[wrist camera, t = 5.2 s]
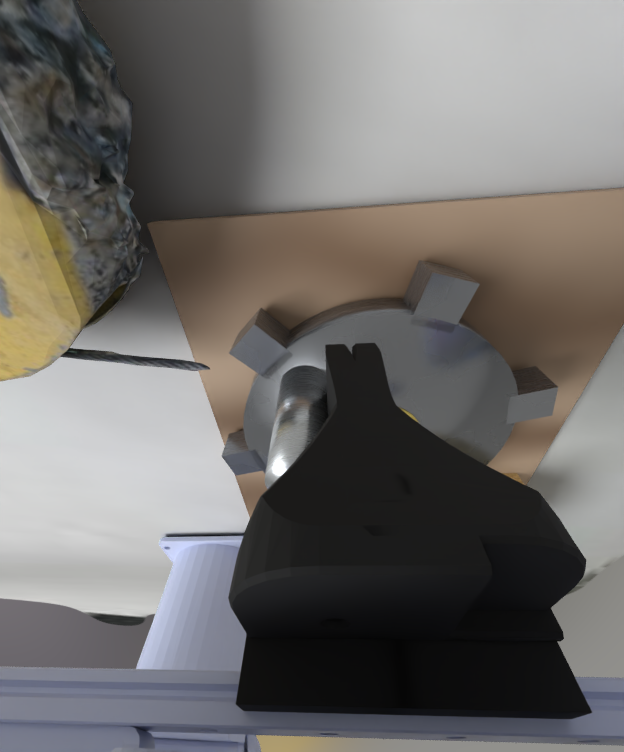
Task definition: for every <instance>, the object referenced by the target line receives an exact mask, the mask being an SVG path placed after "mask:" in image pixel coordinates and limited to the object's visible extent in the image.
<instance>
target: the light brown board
mask: <svg viewBox="0 0 624 752" xmlns="http://www.w3.org/2000/svg"><path fill="white" fill-rule="evenodd" d="M147 226H148V228H149V231H150V234H151V237H152V240H153V243H154V245H155V248H156V251H157V254H158V257H159V260H160V263H161V265H162V268H163V271H164V274H165V277H166V280H167V283H168V285H169V288H170V291H171V294H172V297H173V300H174V303H175V305H176V308H177V311H178V314H179V317H180V320H181V322H182V325H183V328H184V331H185V334H186V337H187V340H188V342H189V345H190V348H191V351H192V354H193V357H194V360H195V362H197V363H202V364H204V365H206V366H208V367H209V368H210V370H198V371H199V374H200V377H201V379H202V382H203V385H204V388H205V391H206V394H207V397H208V399H209V402H210V405H211V408H212V411H213V414H214V417H215V419H216V422H217V425H218V428H219V431H220V434H221V437H222V439H223V442H224V445H226V441H227V438H228V435H229V433H233V432H238V431H242V430H244V429H243V421H244V411H245V407H246V402H247V398H248V395H249V392H250V388H251V385H252V382H253V379H254V376H255V374H256V372H255V371H254V370H252V369H251V368H249V367H248V366H246V365H245V364H244V363H242V362H241V361H239V360H238V359H236V358H235V357H233V356H232V355H231V354H229V352H230V350H231V348H232V345H233V343H234V341H235V339H236V337H237V335H238V333H239V332H240V331H241V330H242V329H243V328H244V326H245V325H246V324H247V323H248V322H249V321H250V319H251V318H252V317H253V316H254V315H255V314H256V313H257V311H258V310H259V309H260V308H262V309H264V310H265V311H266V312H267V313H269V314H270V315H271V316H272V317H274V318H275V319H276V320H277V321H279V322H280V323H281V324H282V325H284V326H285V327H286V328H287V329H289V330H291V329H293V328H294V327H295V326H297V325H298V324H300V323H301V322H303V321H304V320H306V319H308V318H310V317H312V316H314V315H316V314H318V313H320V312H322V311H325V310H328V309H331V308H333V307H336V306H339V305H342V304H347V303H351V302H356V301H360V300H369V299H379V298H395V299H403V297H404V295H405V292H406V290H407V288H408V285H409V283H410V281H411V278H412V276H413V273H414V271H415V269H416V266H417V264H418V262H419V260H422V261H426V262H430V263H435V264H439V265H443V266H447V267H451V268H455V269H459V270H462V271H463V272H464V273H466V274H467V275H468V276H470V277H471V278H472V279H474V280H475V281H476V282H478V283H479V284H480V285H479V287H478V288H477V290H476V292H475V294H474V295H473V297H472V299H471V301H470V303H469V304H468V306H467V308H466V310H465V311H464V313H463V315H462V317H461V318H463V319H464V320H465V321H467V322H468V323H470V324H471V325H472V326H473V327H474V328H475V329H476V330H477V331H478V332H479V333H480V334H481V335H483V337H484V338H485V339H486V340H487V341H488V342H489V343H490V344H491V345H492V346H493V347H494V348H495V349H496V350H497V351H498V352H499V353H500V354H501V355H502V357H503V358H504V360H505V361H506V362H507V364H508V365H509V367H510V368H511V371H515V370H519V369H524V368H528V367H533V366H536V367H537V368H538V369H540V370H541V371H542V372H543V373H544V374H545V375H546V376H547V377H548V378H549V379H550V380H551V381H552V382H554V383H555V384H556V385H557V386H558V391H557V396H556V401H555V405H554V410H553V415H552V416H547V417H542V418H537V419H532V420H526V421H521V422H516V423H515V424H514V427H513V429H512V432H511V434H510V436H509V438H508V439H507V441H506V443H505V444H504V446H503V447H502V449H501V450H500V451H499V452H498V454H497V455H496V456H495V457H494V458H493V459H492V460H491V461H490V462H489V463H488V464H487V465H486V466H488V467H490V468H492V469H494V470H496V471H498V472H500V473H517V474H518V476H519V477H520V479H521V480H522V482H523V483H524V485H527V483H528V481H529V480H530V478H531V476H532V475H533V473H534V471H535V470H536V468H537V466H538V465H539V463H540V462H541V460H542V458H543V457H544V455H545V453H546V452H547V450H548V448H549V447H550V445H551V443H552V442H553V440H554V438H555V437H556V435H557V433H558V432H559V430H560V428H561V427H562V425H563V423H564V422H565V420H566V418H567V417H568V415H569V413H570V412H571V410H572V408H573V407H574V405H575V403H576V402H577V400H578V398H579V397H580V395H581V393H582V392H583V390H584V388H585V387H586V385H587V383H588V382H589V380H590V378H591V377H592V375H593V373H594V372H595V370H596V368H597V367H598V365H599V363H600V362H601V360H602V358H603V357H604V355H605V353H606V352H607V350H608V348H609V347H610V345H611V343H612V342H613V340H614V339H615V337H616V335H617V334H618V332H619V330H620V329H621V327H622V325H623V324H624V188H613V189H599V190H585V191H571V192H557V193H543V194H529V195H515V196H501V197H487V198H473V199H459V200H445V201H431V202H417V203H403V204H389V205H375V206H361V207H347V208H333V209H319V210H305V211H291V212H277V213H263V214H249V215H235V216H221V217H207V218H193V219H179V220H165V221H153V222H150V223H147ZM234 474H235V473H234ZM235 476H236V475H235ZM236 479H237V482H238V485H239V488H240V491H241V494H242V496H243V499H244V502H245V505H246V508H247V511H248V513H249V516H250V518H251V516H252V513H253V511H254V509H255V507H256V504H257V502H258V500H259V498H260V496H261V495H262V494H263V493H264V492H265V491H266V490H267V487H266V485H265V473H264V472H263V471H258V472H253V473H247V474H242V475H237V476H236Z"/></svg>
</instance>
